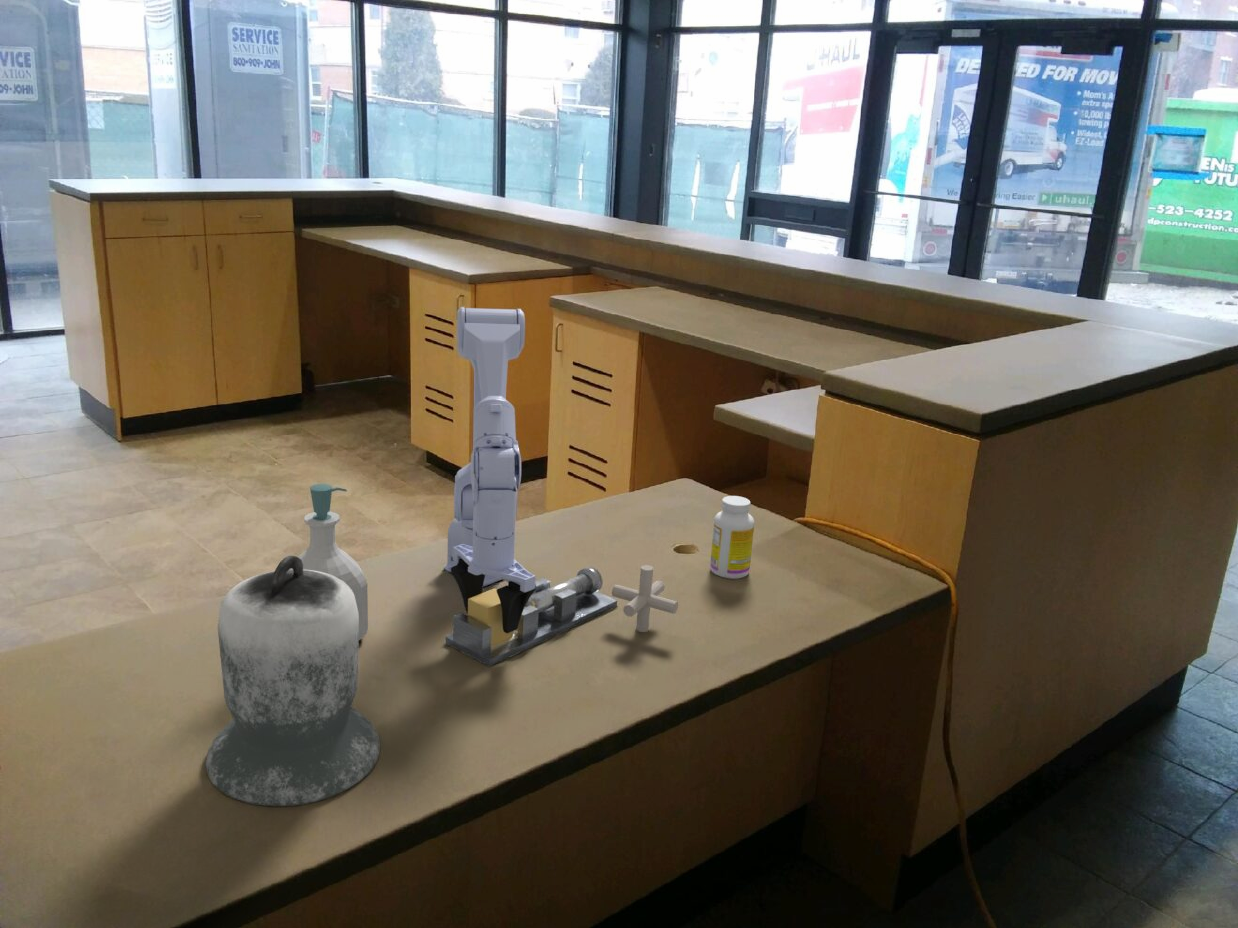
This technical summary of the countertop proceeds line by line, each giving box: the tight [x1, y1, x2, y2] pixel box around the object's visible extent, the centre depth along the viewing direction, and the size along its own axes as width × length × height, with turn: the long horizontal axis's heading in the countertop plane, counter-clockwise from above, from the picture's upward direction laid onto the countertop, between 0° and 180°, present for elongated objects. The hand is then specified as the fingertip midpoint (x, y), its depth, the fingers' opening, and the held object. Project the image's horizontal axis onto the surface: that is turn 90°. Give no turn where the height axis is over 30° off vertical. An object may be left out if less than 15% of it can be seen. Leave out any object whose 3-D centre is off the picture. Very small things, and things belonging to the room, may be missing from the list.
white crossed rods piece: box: [611, 564, 679, 633], centre depth 158 cm, size 10×10×10 cm
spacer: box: [467, 588, 513, 645], centre depth 151 cm, size 4×5×6 cm
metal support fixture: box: [445, 576, 618, 667], centre depth 158 cm, size 9×27×5 cm, turn 140°
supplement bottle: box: [709, 495, 755, 580], centre depth 179 cm, size 7×7×13 cm
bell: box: [205, 555, 381, 807], centre depth 120 cm, size 19×19×25 cm
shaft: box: [525, 566, 603, 613], centre depth 162 cm, size 4×14×4 cm, turn 140°
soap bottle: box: [289, 483, 369, 641], centre depth 147 cm, size 10×10×23 cm
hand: (491, 620), depth 151 cm, fingers open, 7 cm apart
